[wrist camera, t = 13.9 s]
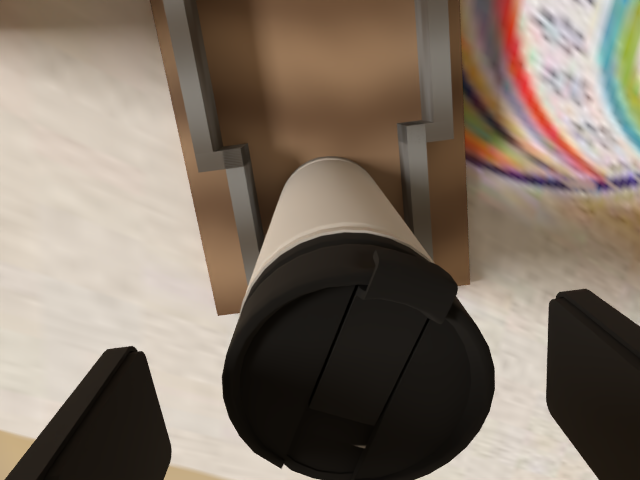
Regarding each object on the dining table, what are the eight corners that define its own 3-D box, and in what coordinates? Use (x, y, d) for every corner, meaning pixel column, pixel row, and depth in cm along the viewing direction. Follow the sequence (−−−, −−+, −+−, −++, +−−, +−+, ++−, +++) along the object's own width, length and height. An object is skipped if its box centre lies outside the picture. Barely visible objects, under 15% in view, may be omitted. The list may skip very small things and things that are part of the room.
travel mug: (396, 169, 28) (567, 315, 9) (359, 265, 30) (435, 553, 11) (300, 135, 28) (267, 216, 9) (267, 235, 29) (180, 486, 10)
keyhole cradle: (131, -113, 25) (98, -151, 21) (447, -160, 24) (472, -208, 20) (220, 309, 32) (208, 337, 28) (465, 278, 32) (485, 303, 28)
